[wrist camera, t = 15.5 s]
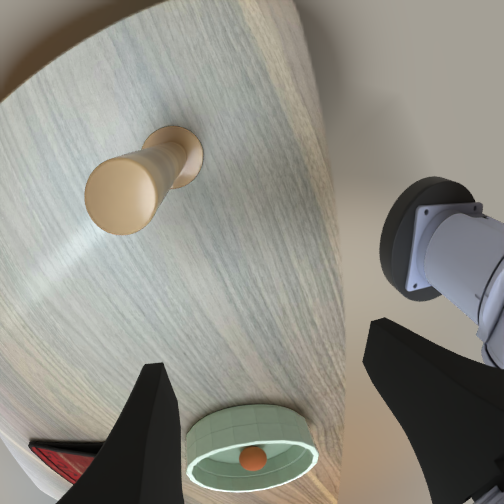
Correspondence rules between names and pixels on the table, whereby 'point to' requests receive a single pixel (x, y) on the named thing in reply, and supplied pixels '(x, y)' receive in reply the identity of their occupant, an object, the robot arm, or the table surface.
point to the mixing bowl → (246, 435)
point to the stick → (142, 180)
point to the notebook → (66, 457)
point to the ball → (252, 458)
